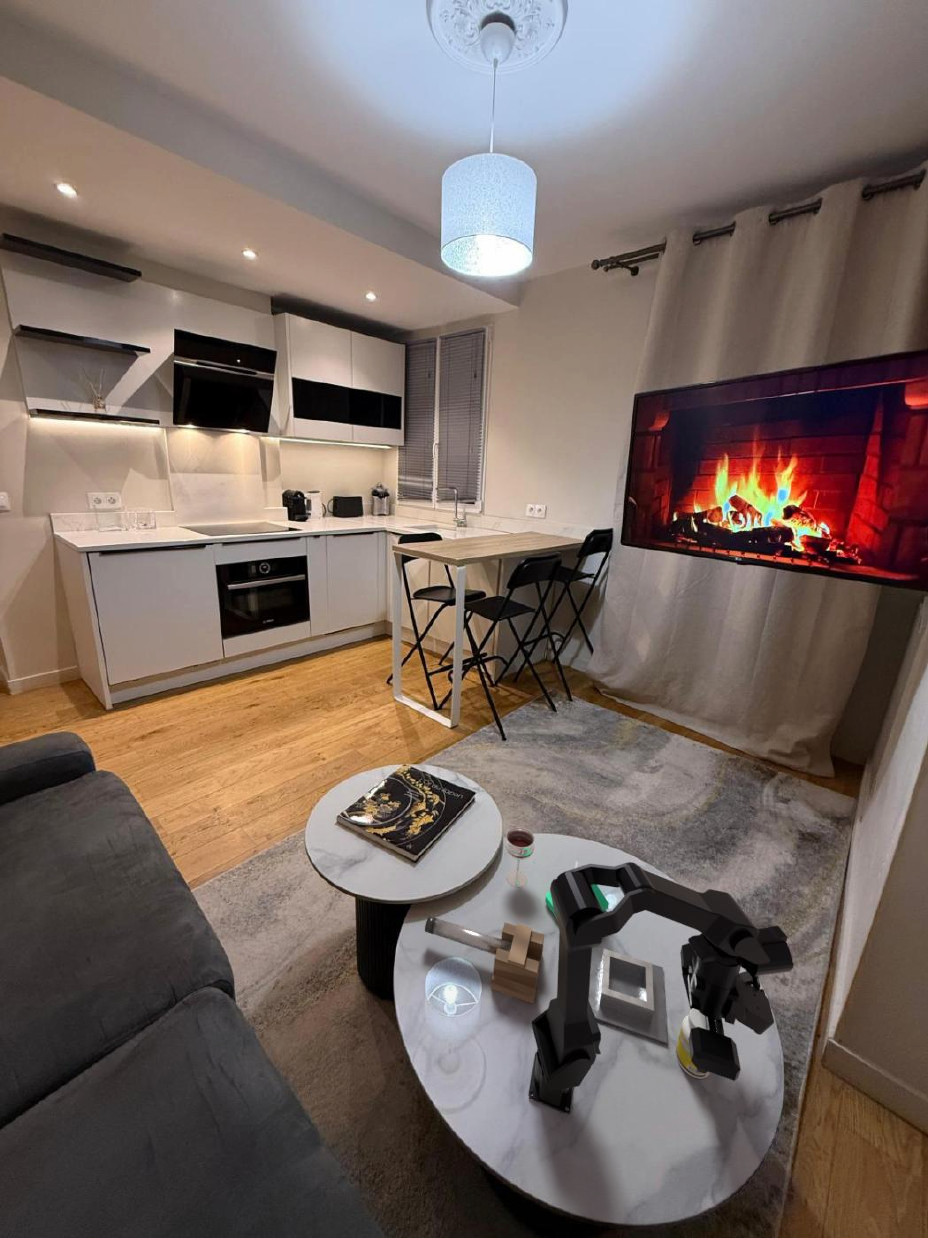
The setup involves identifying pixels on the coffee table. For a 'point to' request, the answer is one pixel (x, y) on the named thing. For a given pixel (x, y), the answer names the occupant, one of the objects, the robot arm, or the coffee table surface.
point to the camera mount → (597, 892)
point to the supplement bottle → (683, 1048)
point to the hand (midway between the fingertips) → (697, 1040)
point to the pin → (465, 936)
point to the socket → (628, 994)
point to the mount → (518, 962)
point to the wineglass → (519, 852)
